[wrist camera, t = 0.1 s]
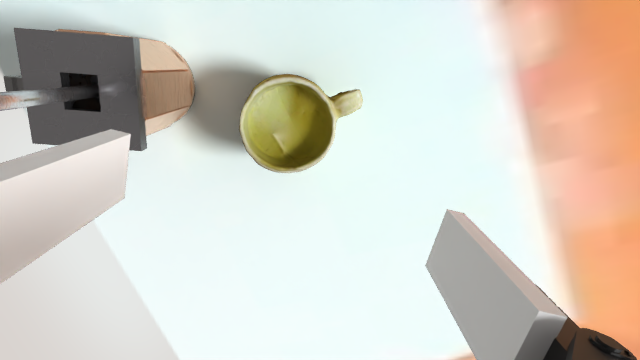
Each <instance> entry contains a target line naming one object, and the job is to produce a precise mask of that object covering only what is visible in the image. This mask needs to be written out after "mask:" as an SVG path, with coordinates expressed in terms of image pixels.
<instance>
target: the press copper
mask: <svg viewBox="0 0 640 360" xmlns="http://www.w3.org/2000/svg"><path fill="white" fill-rule="evenodd" d="M14 32H15V38H16V44H17V50H18V56H19V63H20V69H21V75H22V76H4V81H5V87H6V91H7V92H12V91H24V90H35V89H47V88H59V87H70V81H69V73H77V74H90V75H97V76H98V86H99V96H100V105H101V110H92V109H79V108H73V105H72V101H66V102H59V103H52V104H45V105H38V106H31V107H27V112H28V118H29V124H30V129H31V136H32V142H33V143H35V144H49V145H61V144H64V143H68V142H71V141H74V140H77V139H81V138H84V137H87V136H90V135H93V134H97V133H100V132H103V131H106V130H110V129H112V130H117V131H121V132H125V133H129V134H131V137H130V147H129V150H135V151H142V150H144V149H146V148H147V143H146V136H148V135H150V134H153V133H155V132H158V131H160V130H162V129H165V128H167V127H169V126H170V125H171V124H173V123H174V122H176V121H178V120H179V119H181V118H182V117H183V116H184V115H185V114H186V113H187V112H188V110H189V109H190V107H191V105H192V102H193V99H194V94H195V84H194V78H193V75H192V72H191V69H190V67H189V65H188V64H187V62H186V61H185V59H184V58H183V57H182V56H181V55H180V54H179V53H178V52H177V51H176V50H174V49H173V48H172V47H170V46H168V45H167V44H166V43H163V42H161V41H155V40H148V39H142V38H135V37H129V36H123V35H116V34H110V33H102V32H89V31H77V30H64V29H58V30H55V31H48V30H35V29H22V28H14Z"/></svg>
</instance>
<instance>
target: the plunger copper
mask: <svg viewBox="0 0 640 360" xmlns="http://www.w3.org/2000/svg"><path fill="white" fill-rule="evenodd" d="M69 81H70V87H59V88H47V89H35V90H24V91H12V92H0V111H2V110H9V109H17V108H24V107H31V106H38V105H45V104H52V103H59V102H66V101H72V105H73V108H79V109H92V110H101V105H100V96H99V86H98V76H97V75H90V74H77V73H69Z"/></svg>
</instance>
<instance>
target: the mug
mask: <svg viewBox="0 0 640 360" xmlns="http://www.w3.org/2000/svg"><path fill="white" fill-rule="evenodd" d="M362 101H363V99H362V95H361V92H360V90H352V91H346V92H343V93H342V92H340V93H338V94H337V95H335V96H332V97H328V96H327V95H326V94H325V93H324V92H323V91H322V89H321V88H320V87H319V86H318V85H317V84H315V83H314V82H312V81H310V80H308V79H306V78H303V77H301V76H298V75H291V74H282V75H275V76H272V77H270V78H267V79H265V80H263V81H262V82H260V83H259V84H258V85H257V86H255V87H254V89H253V90H252V92H251V94H250V95H249V97H248V98H247V100H246V102H245V104H244V106H243V108H242V111H241V115H240V126H239V131H240V135H241V138H242V141H243V144H244V146H245V148H246V151H247V152H248V153H249V155H250V156H251V157H252V158H253V159H254V160H255V162H256V163H258V164H259V165H260V166H262V167H264V168H266V169H268V170H271V171H274V172H280V173H293V172H299V171H303V170H306V169H307V168H310V167H312V166H314V165H315V164H317V163H318V162H319V161H320V160H322V159H323V158H324V157H325V155H326V154H327V152H328V151H329V149H330V148H331V146H332V144H333V141H334V137H335V130H336V122H337V119H338V118H340V117H343V116H346V115H349V114H351V113H353V112H355V111H356V110H358V109H360V108H361V106H362Z"/></svg>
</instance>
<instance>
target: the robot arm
mask: <svg viewBox="0 0 640 360" xmlns="http://www.w3.org/2000/svg"><path fill="white" fill-rule="evenodd" d="M130 137H131V134H129V133H125V132H121V131H117V130H112V129H110V130H106V131H103V132H100V133H97V134H93V135H90V136H87V137H84V138H81V139H77V140H74V141H71V142H68V143H64V144H61V145H58V146H55V147H51V148H48V149H45V150H42V151H39V152H36V153H32V154H29V155H26V156H23V157H19V158H16V159H13V160H9V161H6V162H3V163H0V284H1V283H2V282H4V281H5V280H7V279H8V278H10V277H11V276H12V275H14V274H15V273H17V272H18V271H20V270H21V269H23V268H24V267H26V266H27V265H29V264H30V263H31V262H33V261H34V260H36V259H37V258H39V257H40V256H42V255H43V254H44V253H46V252H47V251H49V250H50V249H52V248H53V247H55V246H56V245H57V244H59V243H60V242H62V241H63V240H65V239H66V238H68V237H69V236H70V235H72V234H73V233H75V232H76V231H78V230H79V229H80V228H82V227H83V226H85V225H86V224H88V223H89V222H91V221H92V220H94V219H95V218H97V217H98V216H99V215H101V214H102V213H104V212H105V211H107V210H108V209H110V208H111V207H112V206H114V205H115V204H117V203H118V202H120V201H121V200H123V199H124V197H125V187H126V177H127V167H128V157H129V147H130ZM425 266H426V268H427V269H428V271H429V273H430V275H431V277H432V279H433V280H434V282H435V284H436V286H437V288H438V290H439V291H440V293H441V295H442V297H443V299H444V301H445V302H446V304H447V306H448V308H449V310H450V312H451V314H452V315H453V317H454V319H455V321H456V323H457V325H458V326H459V328H460V330H461V332H462V334H463V336H464V337H465V339H466V341H467V343H468V345H469V347H470V348H471V350H472V352H473V354H474V356H475V358H476V359H477V360H637V359H636V357H635V356H634V355H633V354H632V353H631V352H630V351H629V350H628V349H626V348H625V347H623V346H622V345H621V344H619V343H618V342H617V341H615V340H614V339H612V338H611V337H609V336H606V335H604V334H601V333H599V332H597V331H594V330H590V329H587V328H579V327H578V326H577V325H576V324H575V323H574V322H573V321H572V320H571V319H570V318H569V317H568V316H567V315H566V314H565V313H564V312H563V311H562V310H561V309H560V308H559V307H557V306H556V304H555V303H554V302H553V301H552V300H551V299H550V298H548V296H547V295H546V294H545V293H544V292H543V291H542V290H541V289H540V288H539V287H538V286H537V285H535V284H534V283H533V282H532V281H531V280H530V279H529V278H528V277H527V276H526V275H525V274H524V273H523V272H522V271H521V270H520V269H519V268H518V267H517V266H516V265H515V264H514V263H513V262H512V261H511V260H510V259H509V258H508V257H507V256H506V255H505V254H504V253H503V252H502V251H501V250H500V249H499V248H498V247H497V246H496V245H495V244H494V243H493V242H492V241H491V240H490V239H489V238H488V237H487V236H486V235H485V234H484V233H483V232H482V231H481V230H480V229H479V228H478V227H477V226H476V225H475V224H474V223H473V222H472V221H471V220H470V219H469V218H468V217H467V216H466V215H465V214H464V213H460V212H456V211H452V210H448V209H447V211H446V213H445V216H444V219H443V221H442V224H441V226H440V229H439V232H438V234H437V237H436V239H435V242H434V245H433V247H432V250H431V252H430V255H429V258H428V260H427V263H426V265H425Z"/></svg>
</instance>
